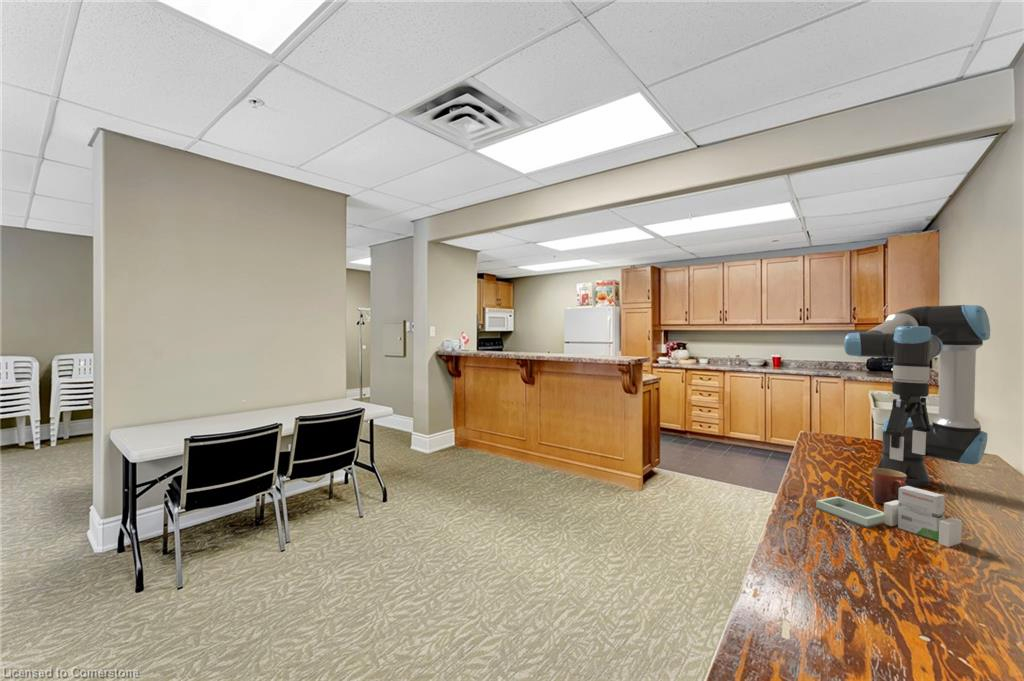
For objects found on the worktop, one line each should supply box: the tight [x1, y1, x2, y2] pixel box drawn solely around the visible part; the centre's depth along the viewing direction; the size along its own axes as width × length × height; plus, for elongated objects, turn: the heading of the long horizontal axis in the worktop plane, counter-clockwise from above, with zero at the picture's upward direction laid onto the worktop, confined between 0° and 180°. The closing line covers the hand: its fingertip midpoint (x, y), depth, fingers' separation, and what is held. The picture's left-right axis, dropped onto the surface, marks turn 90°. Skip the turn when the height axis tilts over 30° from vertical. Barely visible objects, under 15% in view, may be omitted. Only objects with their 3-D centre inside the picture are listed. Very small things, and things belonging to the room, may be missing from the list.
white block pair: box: [883, 500, 963, 548], centre depth 119 cm, size 6×14×6 cm, turn 22°
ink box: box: [897, 486, 946, 542], centre depth 119 cm, size 9×5×12 cm, turn 26°
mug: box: [870, 467, 907, 506], centre depth 137 cm, size 12×9×10 cm
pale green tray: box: [815, 495, 885, 529], centre depth 130 cm, size 10×14×3 cm
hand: (907, 456), depth 121 cm, fingers open, 13 cm apart
